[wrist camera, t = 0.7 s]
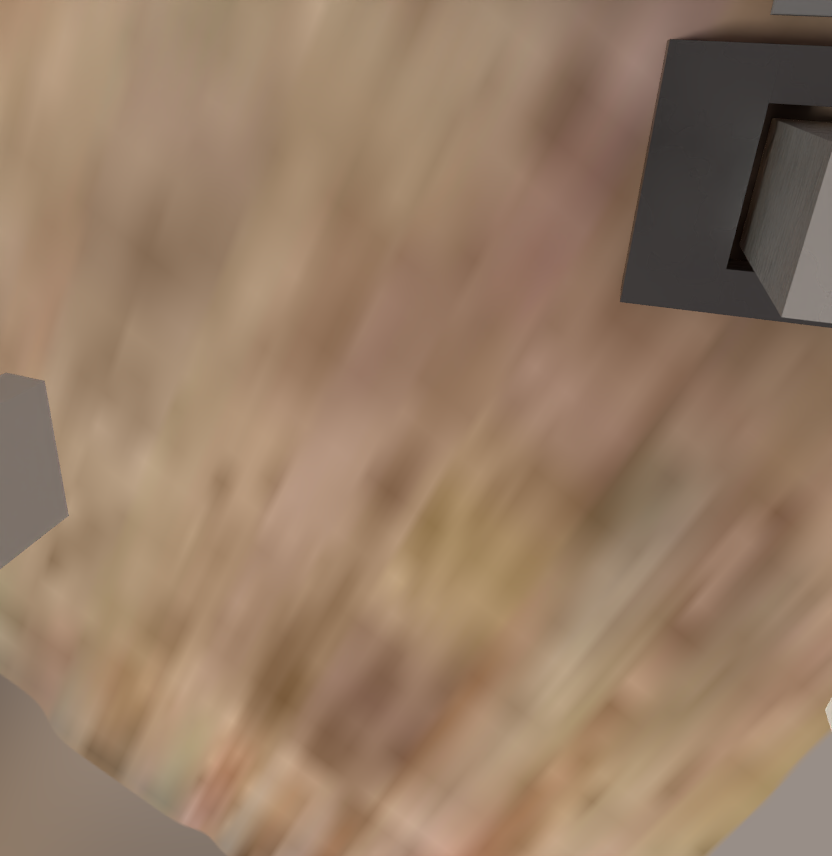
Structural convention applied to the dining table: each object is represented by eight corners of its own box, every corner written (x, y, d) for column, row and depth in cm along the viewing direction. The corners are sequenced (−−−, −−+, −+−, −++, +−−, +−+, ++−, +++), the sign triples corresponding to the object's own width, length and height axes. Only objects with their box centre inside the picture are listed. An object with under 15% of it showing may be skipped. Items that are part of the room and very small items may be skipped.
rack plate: (667, 40, 28) (669, 39, 26) (1083, 59, 25) (1117, 59, 23) (620, 289, 32) (620, 301, 31) (965, 330, 29) (985, 346, 28)
